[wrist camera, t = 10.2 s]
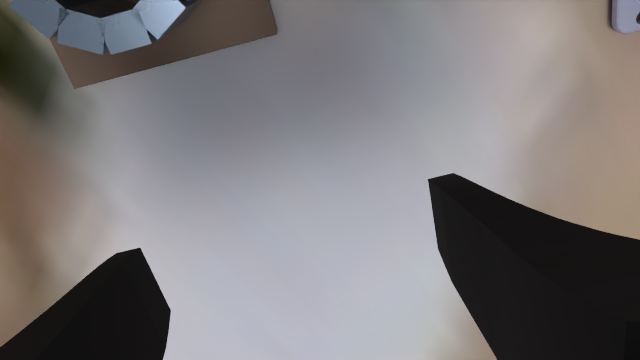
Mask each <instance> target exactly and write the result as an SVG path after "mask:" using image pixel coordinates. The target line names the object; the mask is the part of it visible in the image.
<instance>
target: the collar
mask: <svg viewBox="0 0 640 360" xmlns="http://www.w3.org/2000/svg"><path fill="white" fill-rule="evenodd" d="M201 2H202V0H140V1H139V2H138V3H137V4H136V3H133V2H129V1H126V0H13V1H12V2H11V3H10V5H9V6H10V7H11V8H12V9H13V10H14V11H16V12H17V13H18V14H19V15H21V16H22V17H23V18H24V19H25V20H27V21H28V22H29V23H30V24H32V25H33V26H34V27H35V28H36V29H38V30H39V31H40V32H41V33H43V34H44V35H45V36H46V37H47V38H49V39H51V38H53V37H56V36H58V42H57V43H59V44H63V45H67V46H70V47H74V48H78V49H82V50H86V51H90V52H94V53H98V54H102V55H103V54H105V53H107V52H110V54H111V55H112V54H116V53H119V52H123V51H127V50H130V49H134V48H137V47H141V46H145V45H148V44H152V43H153V42H155V41H156V40H158V39H160V38H161V37H163V36H164V35H165V34H167V33H168V32H170V31H171V30H173V29H174V28H175V27H177V26H178V25H180V24H181V23H183V22H184V21H185V20H186V19H187V17H188V16H189V15H190V14H191V13H192V12H193V11H194V9H195V8H196V7H197V6H198V5H199V4H200V3H201Z"/></svg>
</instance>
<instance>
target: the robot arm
mask: <svg viewBox="0 0 640 360" xmlns="http://www.w3.org/2000/svg"><path fill="white" fill-rule="evenodd" d="M639 12H640V0H612V27H613V29H614V30H615V31H617V32H619V33H624V34H625V33H631V32H635V31H639V30H640V20H639V21H638V22H636V17H637V15H638V13H639ZM428 182H429V189H430V196H431V203H432V210H433V217H434V223H435V230H436V237H437V244H438V250H439V252H440V254H441V257H442V259H443V262H444V264H445V267H446V269H447V271H448V274H449V276H450V278H451V281H452V283H453V285H454V286H455V288H456V290H457V292H458V293H459V295H460V297H461V298H462V300H463V302H464V304H465V305H466V307H467V309H468V310H469V312H470V314H471V316H472V317H473V319H474V321H475V322H476V324H477V326H478V327H479V329H480V331H481V333H482V334H483V336H484V338H485V339H486V341H487V343H488V344H489V346H490V348H491V349H492V351H493V353H494V355H495V356H496V358H497V360H640V240H638V239H633V238H629V237H624V236H619V235H615V234H611V233H607V232H603V231H599V230H595V229H592V228H588V227H585V226H581V225H578V224H574V223H571V222H568V221H565V220H562V219H559V218H556V217H553V216H550V215H547V214H545V213H542V212H539V211H537V210H534V209H532V208H529V207H526V206H524V205H522V204H519V203H517V202H515V201H512V200H510V199H508V198H505V197H503V196H501V195H499V194H497V193H495V192H492V191H490V190H488V189H486V188H484V187H482V186H480V185H478V184H476V183H474V182H472V181H470V180H468V179H465V178H463V177H461V176H459V175H457V174H454V173H452V174H448V175H444V176H439V177H435V178H431V179H428ZM170 312H171V310H170V308H169V306H168V304H167V302H166V300H165V298H164V296H163V294H162V292H161V290H160V288H159V286H158V283H157V281H156V279H155V277H154V275H153V273H152V271H151V269H150V267H149V265H148V263H147V261H146V259H145V257H144V255H143V253H142V251H141V248H137V249H133V250H128V251H124V252H120V253H116V254H115V255H113V256H112V257H110V258H109V259H107V260H106V261H105V262H103V263H102V264H101V265H100V266H98V267H97V268H96V269H95V270H93V271H92V272H91V273H90V274H89V275H87V276H86V277H85V278H84V279H83V280H82V281H80V282H79V283H78V284H77V285H76V286H75V287H73V288H72V289H71V290H70V291H69V292H68V293H66V294H65V295H64V296H63V297H62V298H61V299H59V300H58V301H57V302H56V303H55V304H54V305H52V306H51V307H50V308H49V309H48V310H46V311H45V312H44V313H43V314H41V315H40V316H39V317H38V318H36V319H35V320H34V321H33V322H32V323H30V324H29V325H28V326H27V327H25V328H24V329H23V330H22V331H20V332H19V333H18V334H17V335H15V336H14V337H13V338H12V339H10V340H9V341H8V342H7V343H5V344H4V345H3V346H1V347H0V360H163V357H164V353H165V349H166V343H167V337H168V330H169V321H170Z"/></svg>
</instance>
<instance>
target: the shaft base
mask: <svg viewBox="0 0 640 360" xmlns="http://www.w3.org/2000/svg"><path fill="white" fill-rule="evenodd" d="M126 1H129V2H133V3H136V4H137V3H138V2H139V1H140V0H126ZM276 34H277V28H276V24H275V20H274V17H273V13H272V10H271V6H270V2H269V0H202V2H201V3H200V4H199V5H198V6H197V7H196V8H195V9H194V11H193V12H192V13H191V14H190V15H189V16H188V17H187V19H186V20H185V21H184V22H183V23H181V24H180V25H178V26H177V27H175V28H174V29H173V30H171V31H170V32H168V33H167V34H165V35H164V36H163V37H161V38H160V39H158V40H156V41H155V42H153V43H152V44H148V45H145V46H141V47H137V48H134V49H130V50H127V51H123V52H119V53H116V54H112V55H111V54H110V52H107V53H105V54H103V55H102V54H98V53H94V52H90V51H86V50H82V49H78V48H74V47H70V46H67V45H63V44H59V43H57V42H58V36H56V37H53V38H51V39H50V40H51V42H52V44H53V46H54V48H55V51H56V53H57V55H58V57H59V59H60V61H61V63H62V65H63V67H64V69H65V71H66V73H67V75H68V77H69V79H70V81H71V83H72V85H73V87H74V89H76V88H79V87H83V86H87V85H90V84H94V83H98V82H102V81H105V80H109V79H113V78H116V77H120V76H124V75H128V74H131V73H135V72H139V71H142V70H146V69H150V68H154V67H157V66H161V65H165V64H168V63H172V62H176V61H180V60H183V59H187V58H191V57H194V56H198V55H202V54H206V53H209V52H213V51H217V50H220V49H224V48H228V47H232V46H235V45H239V44H243V43H246V42H250V41H254V40H258V39H261V38H265V37H269V36H272V35H276Z"/></svg>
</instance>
